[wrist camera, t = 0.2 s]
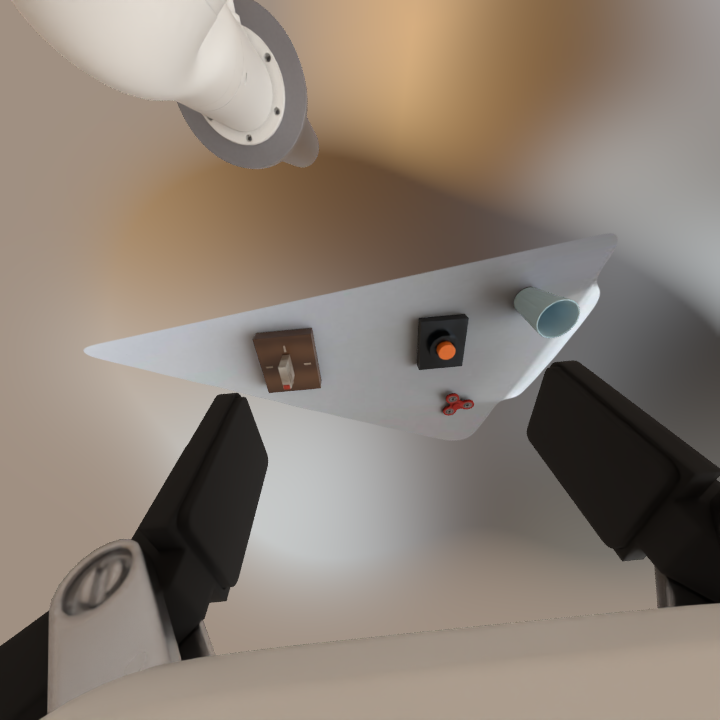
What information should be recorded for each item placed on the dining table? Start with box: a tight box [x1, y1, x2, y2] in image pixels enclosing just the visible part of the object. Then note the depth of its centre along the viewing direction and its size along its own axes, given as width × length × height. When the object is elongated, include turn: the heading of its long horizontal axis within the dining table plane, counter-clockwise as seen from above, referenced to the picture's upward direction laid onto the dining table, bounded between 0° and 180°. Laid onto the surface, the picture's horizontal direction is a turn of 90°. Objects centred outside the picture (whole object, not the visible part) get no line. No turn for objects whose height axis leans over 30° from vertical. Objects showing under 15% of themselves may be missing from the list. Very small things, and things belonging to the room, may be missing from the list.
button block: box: [417, 314, 468, 370], centre depth 63 cm, size 12×10×4 cm
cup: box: [514, 287, 580, 338], centre depth 57 cm, size 8×8×10 cm
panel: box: [253, 328, 321, 393], centre depth 64 cm, size 14×12×3 cm
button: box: [436, 341, 456, 360], centre depth 61 cm, size 4×4×2 cm
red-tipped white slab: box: [278, 355, 295, 390], centre depth 61 cm, size 6×2×5 cm, turn 4°
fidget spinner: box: [443, 393, 474, 415], centre depth 75 cm, size 8×7×1 cm
